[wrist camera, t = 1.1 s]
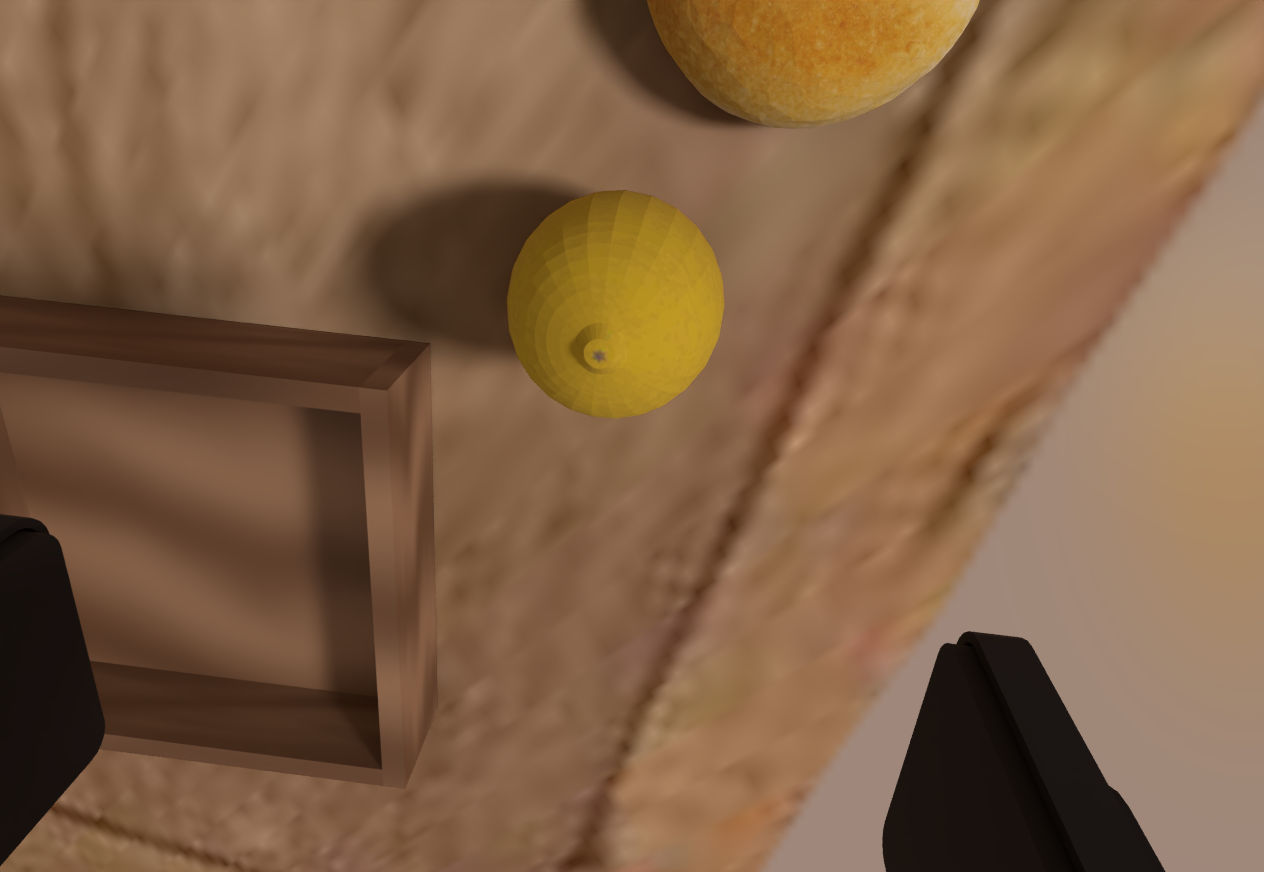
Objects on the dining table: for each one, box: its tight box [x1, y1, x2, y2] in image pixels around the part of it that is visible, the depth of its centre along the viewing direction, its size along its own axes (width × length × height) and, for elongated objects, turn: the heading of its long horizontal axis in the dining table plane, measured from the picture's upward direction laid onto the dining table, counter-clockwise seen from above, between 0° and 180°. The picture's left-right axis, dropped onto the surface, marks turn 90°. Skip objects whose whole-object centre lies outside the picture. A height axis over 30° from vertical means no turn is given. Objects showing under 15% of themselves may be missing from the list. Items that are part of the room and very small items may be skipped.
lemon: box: [507, 190, 724, 418], centre depth 21 cm, size 6×6×8 cm
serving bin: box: [0, 296, 438, 789], centre depth 28 cm, size 16×16×4 cm
